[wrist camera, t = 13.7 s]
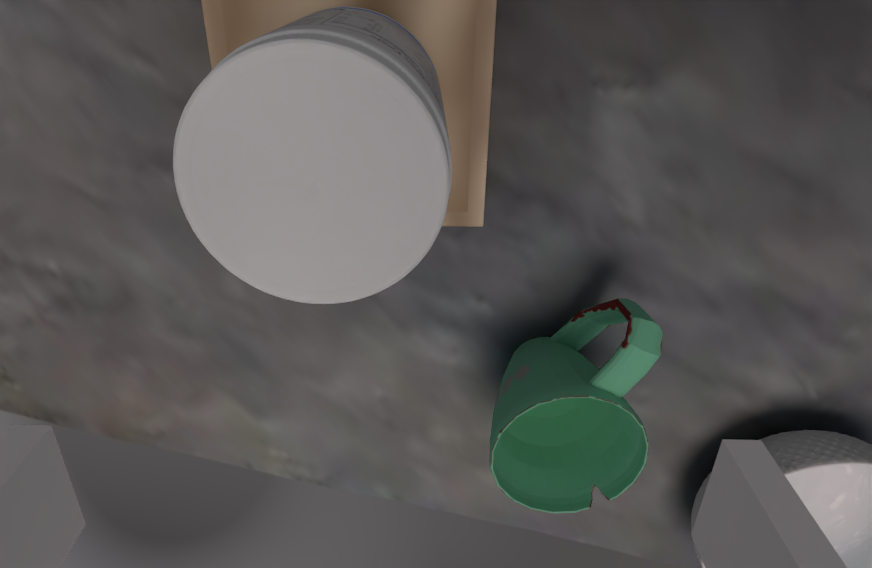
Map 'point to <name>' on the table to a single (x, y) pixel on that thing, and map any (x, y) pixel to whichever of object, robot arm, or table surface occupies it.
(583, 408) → the mug
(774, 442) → the cereal bowl
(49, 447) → the robot arm
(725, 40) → the table surface
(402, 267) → the supplement tub
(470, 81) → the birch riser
